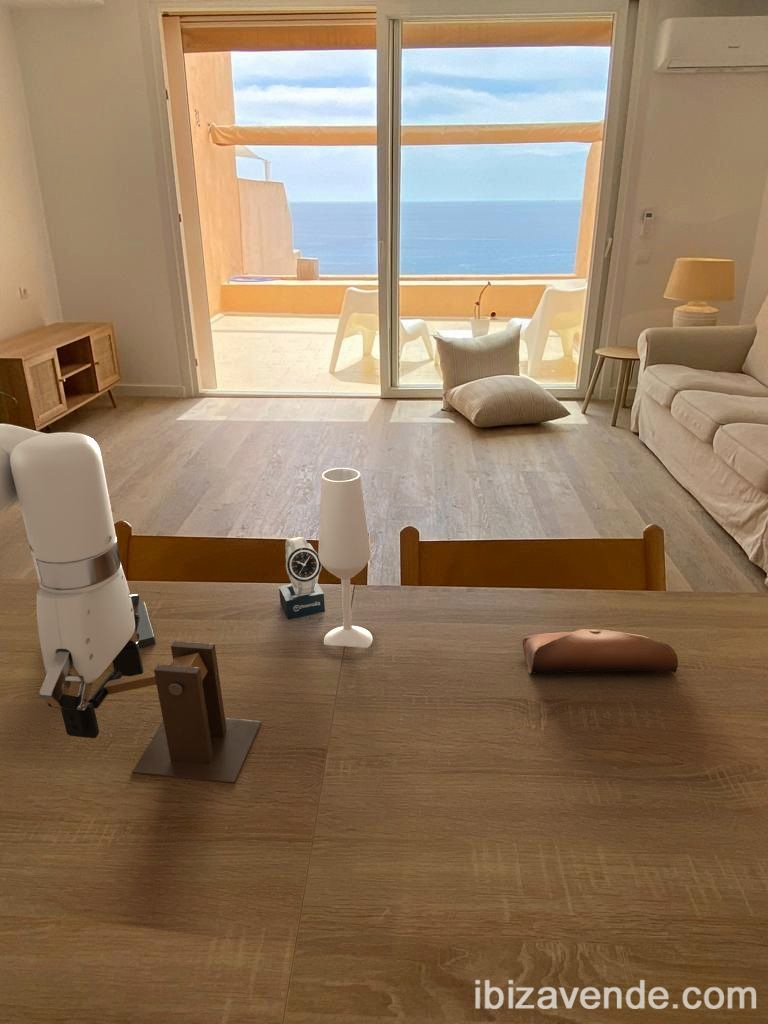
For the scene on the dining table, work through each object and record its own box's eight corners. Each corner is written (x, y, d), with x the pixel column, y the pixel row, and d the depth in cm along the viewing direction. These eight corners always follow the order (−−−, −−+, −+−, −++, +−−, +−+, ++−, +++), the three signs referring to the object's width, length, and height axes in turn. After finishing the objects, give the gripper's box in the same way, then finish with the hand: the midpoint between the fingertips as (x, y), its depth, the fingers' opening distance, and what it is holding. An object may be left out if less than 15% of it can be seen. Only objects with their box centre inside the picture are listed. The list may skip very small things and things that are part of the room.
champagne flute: (320, 628, 97) (310, 467, 87) (368, 623, 98) (363, 463, 88) (326, 657, 91) (316, 487, 81) (377, 650, 92) (373, 482, 82)
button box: (59, 675, 88) (52, 649, 86) (56, 634, 96) (50, 610, 95) (156, 650, 92) (152, 625, 91) (146, 613, 101) (142, 590, 99)
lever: (93, 714, 71) (82, 695, 71) (117, 683, 76) (107, 665, 75) (194, 693, 68) (184, 674, 68) (213, 663, 73) (203, 644, 72)
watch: (291, 627, 97) (285, 557, 93) (277, 599, 104) (271, 533, 99) (329, 618, 99) (325, 550, 94) (313, 591, 106) (309, 526, 101)
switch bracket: (133, 780, 72) (111, 680, 66) (169, 721, 80) (153, 627, 75) (235, 791, 70) (221, 689, 65) (262, 729, 78) (251, 634, 73)
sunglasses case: (653, 635, 93) (669, 612, 88) (665, 685, 89) (683, 665, 84) (518, 637, 93) (526, 614, 88) (525, 687, 89) (533, 667, 84)
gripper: (88, 521, 75) (114, 652, 82) (-17, 606, 60) (26, 758, 67) (154, 525, 74) (174, 657, 81) (64, 613, 59) (99, 767, 66)
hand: (107, 703), depth 74 cm, fingers open, 9 cm apart
